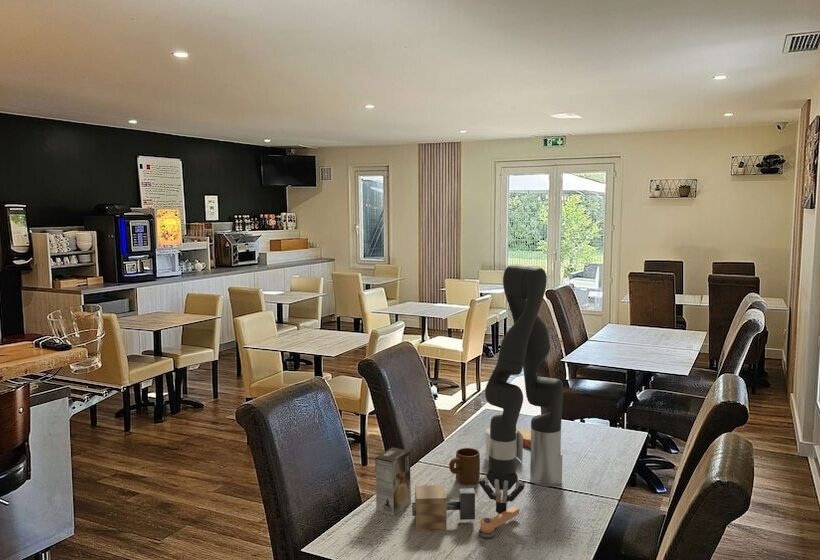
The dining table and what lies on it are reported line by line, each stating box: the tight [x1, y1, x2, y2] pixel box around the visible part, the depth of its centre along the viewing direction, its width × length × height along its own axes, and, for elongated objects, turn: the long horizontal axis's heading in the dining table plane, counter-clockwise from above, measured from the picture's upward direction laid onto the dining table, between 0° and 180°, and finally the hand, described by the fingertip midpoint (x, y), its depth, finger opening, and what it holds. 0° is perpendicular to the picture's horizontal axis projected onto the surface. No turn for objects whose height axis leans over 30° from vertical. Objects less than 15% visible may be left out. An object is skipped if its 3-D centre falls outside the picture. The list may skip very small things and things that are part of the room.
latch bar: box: [479, 505, 520, 534], centre depth 170 cm, size 4×15×3 cm, turn 134°
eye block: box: [414, 484, 448, 532], centre depth 172 cm, size 8×8×9 cm
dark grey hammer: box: [411, 487, 476, 521], centre depth 172 cm, size 17×3×8 cm, turn 92°
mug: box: [448, 447, 481, 486], centre depth 198 cm, size 12×8×9 cm, turn 133°
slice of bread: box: [516, 428, 531, 449], centre depth 233 cm, size 18×18×4 cm
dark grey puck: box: [478, 528, 497, 540], centre depth 166 cm, size 4×4×1 cm
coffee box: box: [374, 447, 412, 516], centre depth 181 cm, size 9×6×16 cm
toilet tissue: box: [485, 426, 524, 463], centre depth 216 cm, size 11×12×10 cm
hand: (501, 513), depth 175 cm, fingers closed
